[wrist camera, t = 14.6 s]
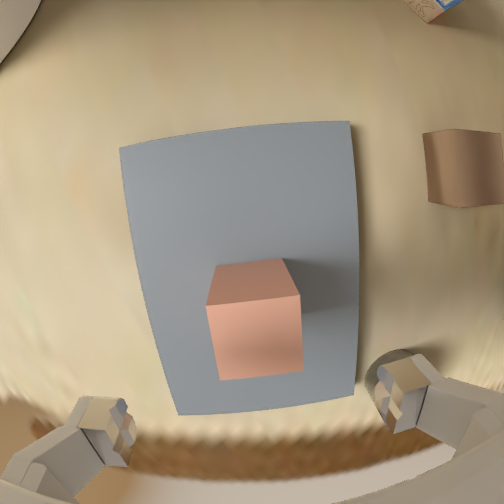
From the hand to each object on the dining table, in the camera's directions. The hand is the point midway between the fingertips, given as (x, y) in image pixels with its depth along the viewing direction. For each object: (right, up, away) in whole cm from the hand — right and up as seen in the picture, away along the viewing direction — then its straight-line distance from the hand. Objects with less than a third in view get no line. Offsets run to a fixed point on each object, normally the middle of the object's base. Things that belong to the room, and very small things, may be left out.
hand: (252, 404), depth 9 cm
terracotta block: (0, +2, +11) cm, 11 cm away
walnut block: (+15, +11, +11) cm, 22 cm away
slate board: (0, +2, +12) cm, 12 cm away
